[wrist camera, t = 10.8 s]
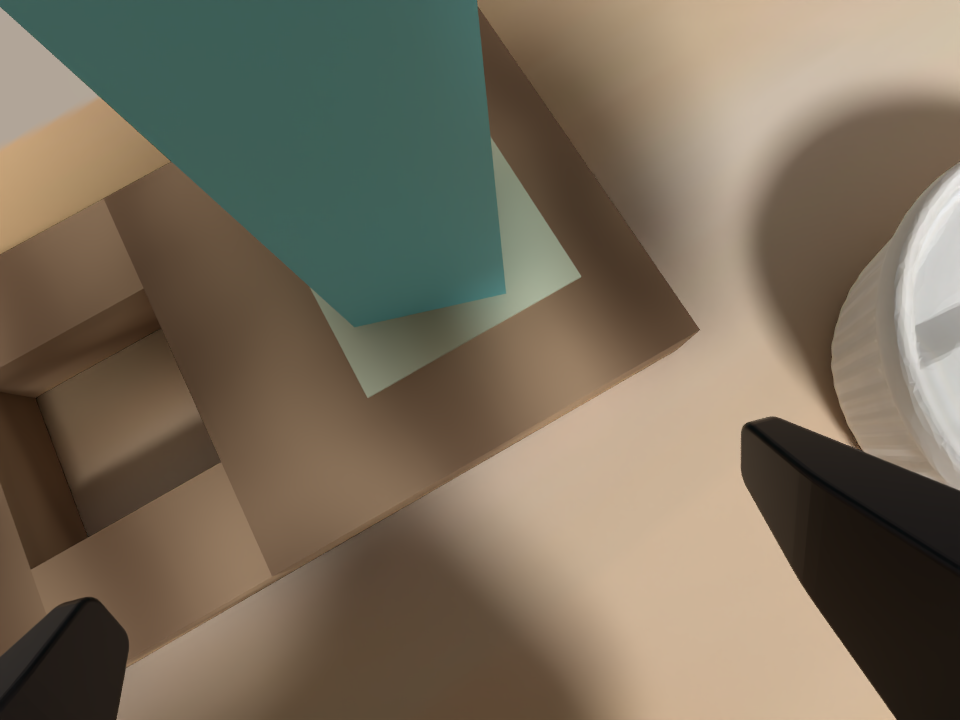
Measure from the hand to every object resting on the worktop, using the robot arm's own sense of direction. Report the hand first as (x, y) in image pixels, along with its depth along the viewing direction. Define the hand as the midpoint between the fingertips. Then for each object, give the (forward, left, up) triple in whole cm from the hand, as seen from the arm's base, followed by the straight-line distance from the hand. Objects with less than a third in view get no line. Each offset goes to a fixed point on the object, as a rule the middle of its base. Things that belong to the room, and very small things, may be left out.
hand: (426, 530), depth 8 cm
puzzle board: (+7, -4, -10) cm, 13 cm away
